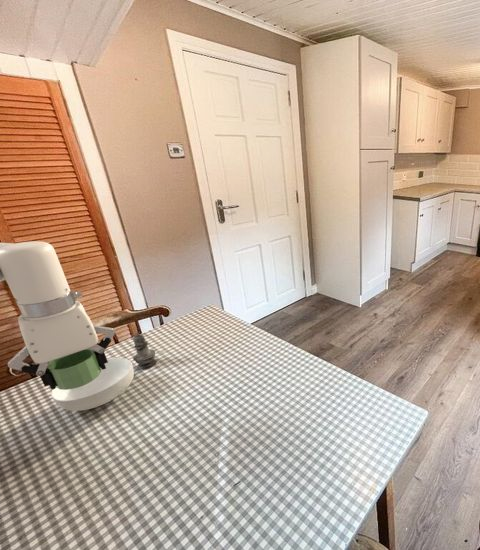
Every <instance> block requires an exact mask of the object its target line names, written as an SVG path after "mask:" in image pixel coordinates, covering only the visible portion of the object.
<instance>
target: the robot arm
mask: <svg viewBox="0 0 480 550" xmlns="http://www.w3.org/2000/svg"><path fill="white" fill-rule="evenodd" d="M4 281H6V284H7V285H8V288H9V290H10V292H11V294H12V296H13V298H14V301H15V302H16V304H17V307H18V309H19V311H20V314H21V315H19V316H18V317H17V320H18V327H19V330H20V333H21V337H22V339H23V342H24V344H25V346H24V347H23V348H22V349H20V350H19V351H18V352H17V353H16V354H15V355H14V356H13V357H12V358H11V359H10V360H9V361H8V362H7V367H8V368H10V369H11V370H15V371H20V372H22V373H24V374H25V373H26V374H31V375H36V376H38V377H39V378H40V380H41V382H42V384H43V386H44V387H48V386H49V387H50V389H51V391H52V390H53V389H55V388H56V385H55V383H54V381H53V379H52V377H51V375H50V373H49V371H48V368H47V366H48V364H49V363H50V362H51V361H53V360H56V359H59V358H62V357H65V356H68V355H71V354H73V353H76V352H79V351H82V350H85V349H92V350H94V351H95V354H96V357H97V359H98V362H99V364H100V367H101V369H103V370H104V369H106V367H105V363H108V361H107V359H108V358H107V356H106V354H105V352H106V349H107V348H108V347H109V345H110V344H111V342H112V339H113V338H114V336H115V334H116V329H115V328H113V327H108V326H101V325H96V324H93V322H92V320H91V318H90V316H89V314H88V312H87V310H86V308H85V307H84V305H83V304H82V303H81V302H80V301H79V300H78V299H80V298H84V295H83V292H82V291H81V290H78V291H76V290H75V291H73V290H71V288H70V286H69V283H68V280H67V278H66V275H65V272H64V270H63V268H62V265H61V262H60V260H59V258H58V255H57V252H56V249H55V248H54V246H52V244H50V243H49V242H45V241H40V240H39V241H38V240H37V241H23V242H17V243H13V242H12V243H10V242H0V283H1V282H4ZM98 334H102V335H104V336H103V337H102V338H101V340H100V341H99V336H98ZM29 356H30V358H31V359H32V362H34V363H35V364H34V363H29V362H24V361H25V359H26V358H28V357H29Z"/></svg>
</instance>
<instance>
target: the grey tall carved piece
mask: <svg viewBox="0 0 480 550" xmlns="http://www.w3.org/2000/svg"><path fill="white" fill-rule="evenodd" d="M132 340H133V343H134V346H133V348H134V349H135V350H136V354H134V356H133V357H132V359H133V361H135V363H137V370H141V371H142V370H147V368H148V369H151V368H152V367H154V366H155V365H157V363H158V360H157V359H156V358H155V356H156V350H154V349H150V348H149V346H148V345H149V342H148V341H147V340H146V338H145V335H144V334H143V333H139V332H136V333H135V335H134V336H133V337H132Z"/></svg>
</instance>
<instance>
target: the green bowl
mask: <svg viewBox="0 0 480 550" xmlns="http://www.w3.org/2000/svg"><path fill="white" fill-rule="evenodd" d="M47 368H48V371H49V373H50V375H51V377H52V379H53V381H54V383H55V385H56V387H57V388H58V389H63V390H67V389H74V388H78V387H81V386H84V385H86V384H88V383H90V382H91V381H93V380H94V379H95V378H97V377H98V376H99V375H100V373H101V372H102V371H101V367H100V364H99V362H98V359H97V357H96V354H95V351H94V350H92V349H90V348H88V349H85V350H82V351H79V352H76V353H73V354H71V355H68V356H65V357H62V358H59V359H56V360H53V361H50V362H49V364H48V366H47Z"/></svg>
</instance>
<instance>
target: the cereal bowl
mask: <svg viewBox="0 0 480 550" xmlns="http://www.w3.org/2000/svg"><path fill="white" fill-rule="evenodd" d="M107 361H108V363H105V367H106V369H104V370H103V369H101V371H102V372H101V373H100V375H99V376H98V377H97V378H95V379H94V380H93V381H91V382H90V383H88V384H86V385H84V386H81V387H78V388H74V389H67V390H63V389H58V388H57V387H56V388H55V389H53V390H52V389H51V392H50V397H51V399H52V400H53V402H54V403H55V405H57V406H58V407H59V408H61V409H63V410H66V411H70V412H71V411H72V412H81V411H87V410H91V409H94V408H97V407H100V406H103V405H106V404H107V403H109V402H111V401H112V400H115V399H116V398H117V397H119V396H120V395H122V394H123V393H124V392H125V391H126V390H127V389H128V388H129V386H130V385H131V383H132V381H133V380H134V376H135V370H134V369H135V368H134V365H133V363H132V361H131V360H130V359H127V358H124V357H111V358H107Z"/></svg>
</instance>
